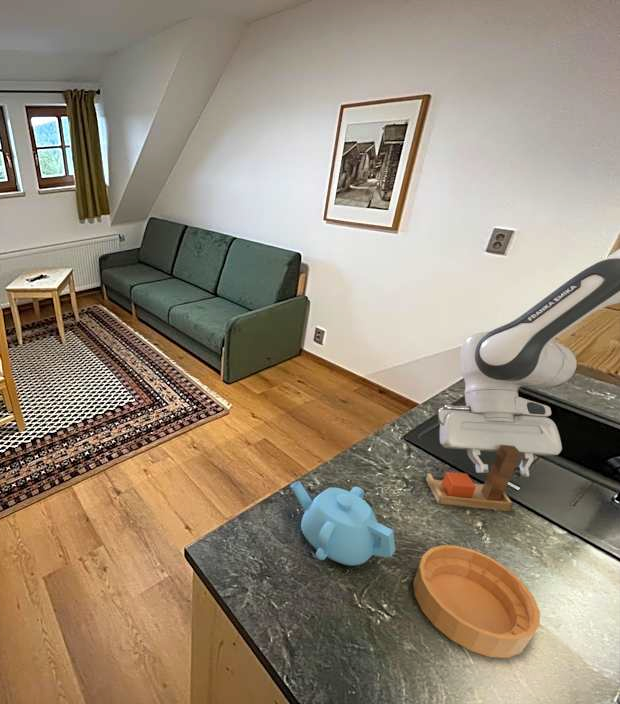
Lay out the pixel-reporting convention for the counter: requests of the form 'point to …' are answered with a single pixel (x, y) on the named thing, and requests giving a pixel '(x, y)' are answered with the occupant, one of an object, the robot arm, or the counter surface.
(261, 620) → the counter surface
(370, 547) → the teapot
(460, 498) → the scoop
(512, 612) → the bowl
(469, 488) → the block
